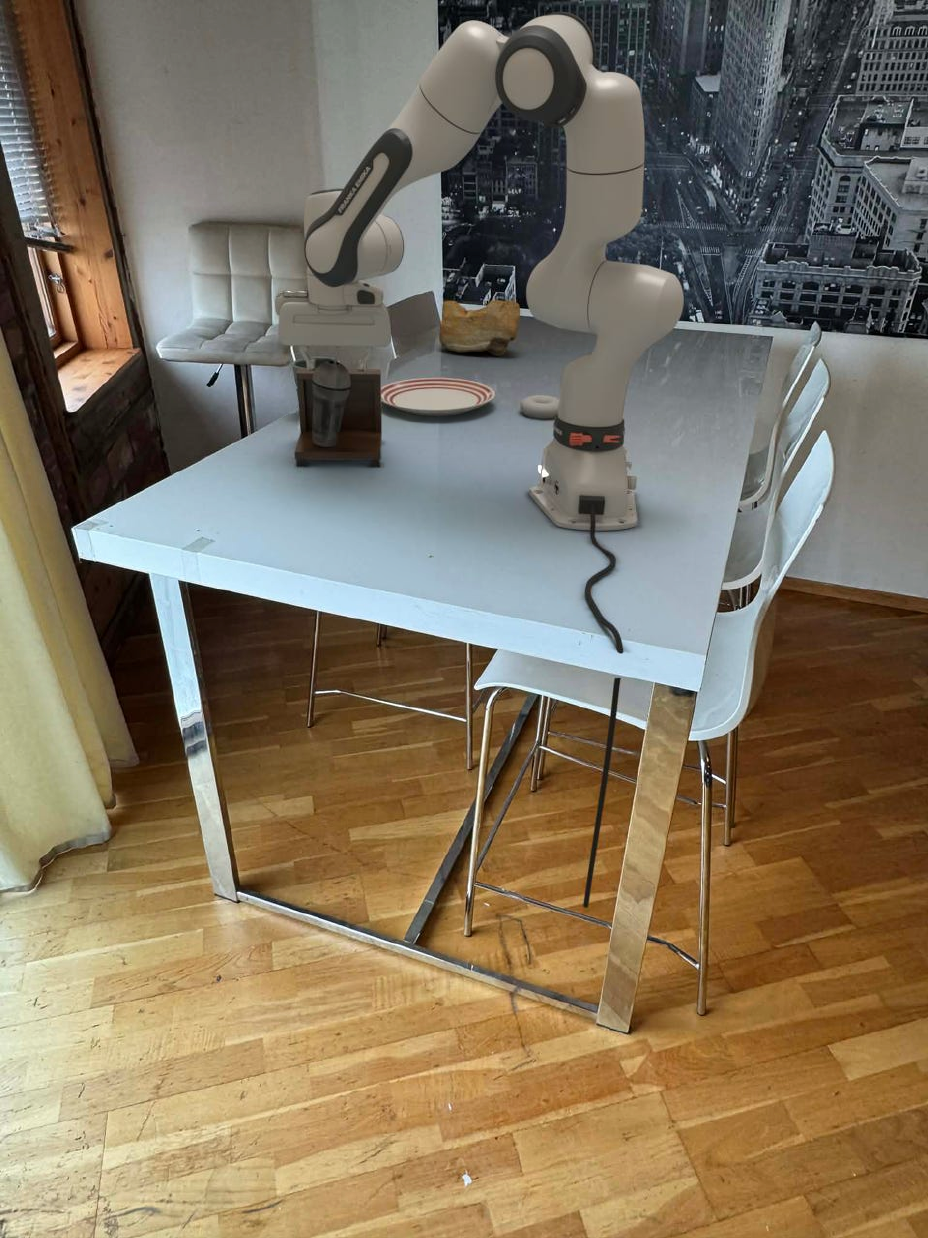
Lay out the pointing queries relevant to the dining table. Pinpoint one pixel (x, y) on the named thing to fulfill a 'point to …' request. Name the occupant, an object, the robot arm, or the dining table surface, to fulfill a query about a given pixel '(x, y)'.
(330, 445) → the beverage cup
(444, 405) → the dinner plate
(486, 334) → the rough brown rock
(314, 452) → the shelf
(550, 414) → the donut
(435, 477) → the dining table surface
